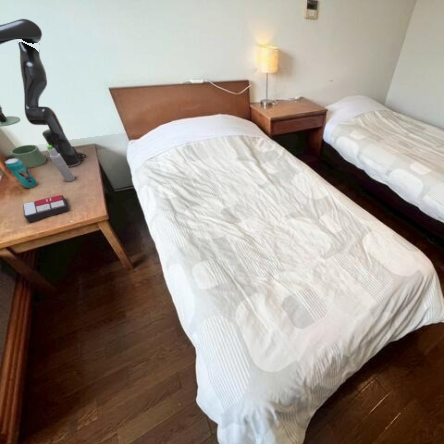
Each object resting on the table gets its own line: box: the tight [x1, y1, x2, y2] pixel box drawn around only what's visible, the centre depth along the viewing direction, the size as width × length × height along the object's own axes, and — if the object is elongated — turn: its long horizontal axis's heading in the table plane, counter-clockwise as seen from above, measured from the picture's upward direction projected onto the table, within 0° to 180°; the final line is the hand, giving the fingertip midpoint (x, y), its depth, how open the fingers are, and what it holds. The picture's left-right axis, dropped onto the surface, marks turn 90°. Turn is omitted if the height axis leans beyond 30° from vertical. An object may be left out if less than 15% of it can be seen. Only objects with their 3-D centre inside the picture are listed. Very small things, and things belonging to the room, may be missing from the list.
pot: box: [9, 144, 47, 169], centre depth 146 cm, size 12×12×8 cm
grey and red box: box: [22, 194, 70, 223], centre depth 119 cm, size 11×4×15 cm
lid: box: [0, 111, 21, 127], centre depth 130 cm, size 13×13×6 cm
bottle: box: [46, 144, 76, 182], centre depth 133 cm, size 4×4×20 cm
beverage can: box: [4, 157, 38, 189], centre depth 128 cm, size 6×6×15 cm
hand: (3, 120), depth 131 cm, fingers closed on lid, 2 cm apart
